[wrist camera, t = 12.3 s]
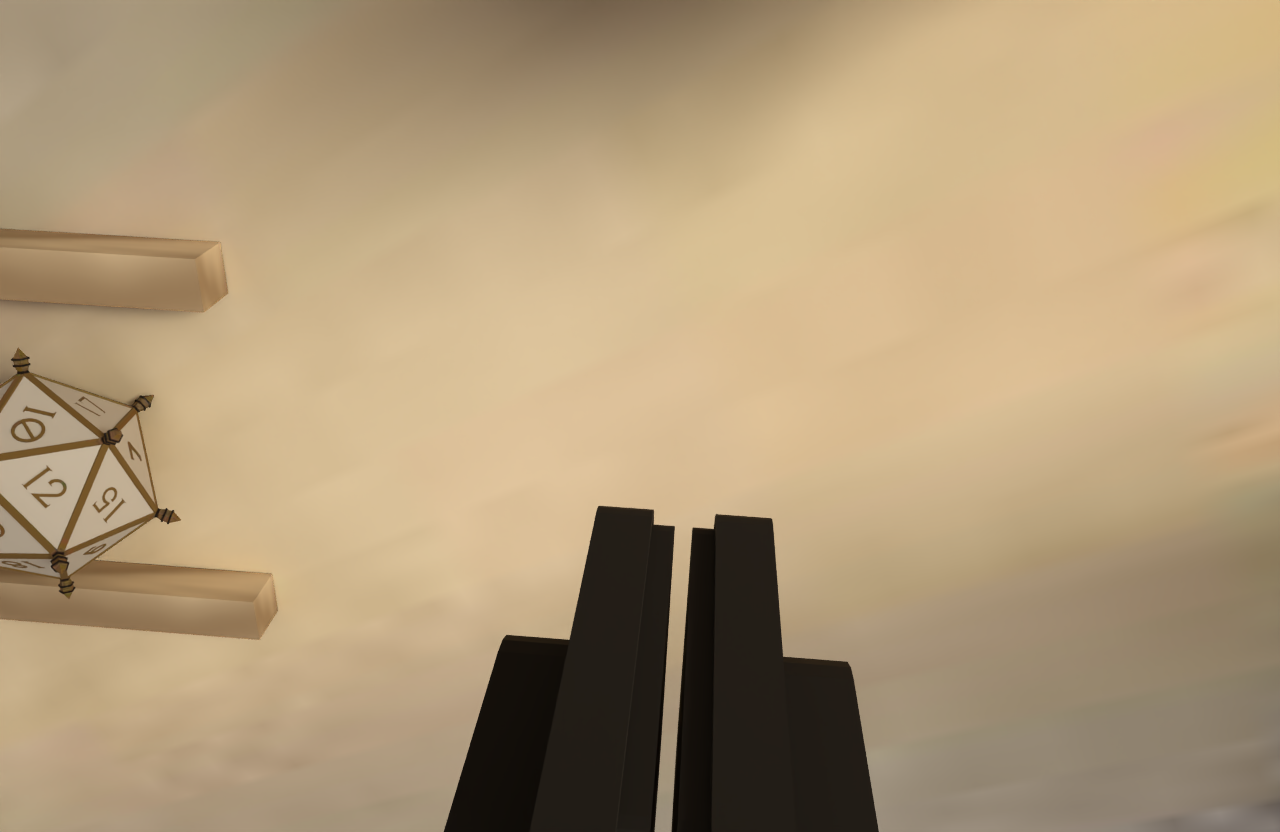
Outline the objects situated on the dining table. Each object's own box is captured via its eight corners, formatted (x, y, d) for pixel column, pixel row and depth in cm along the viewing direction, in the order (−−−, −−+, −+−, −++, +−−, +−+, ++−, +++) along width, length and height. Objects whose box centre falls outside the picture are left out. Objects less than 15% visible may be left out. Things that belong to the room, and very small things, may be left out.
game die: (132, 422, 46) (-77, 582, 40) (37, 276, 39) (-225, 443, 34) (264, 506, 42) (52, 695, 37) (181, 359, 36) (-88, 562, 30)
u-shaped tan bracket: (-182, 217, 38) (-226, 233, 36) (220, 241, 37) (195, 259, 36) (-58, 584, 46) (-89, 612, 44) (277, 610, 45) (259, 640, 43)
